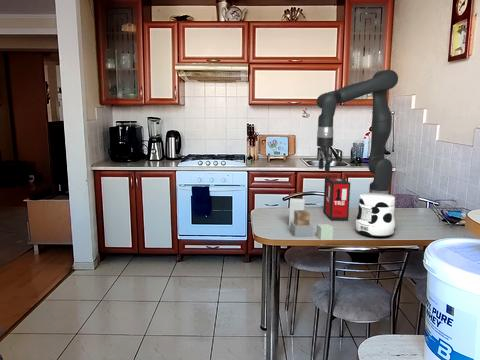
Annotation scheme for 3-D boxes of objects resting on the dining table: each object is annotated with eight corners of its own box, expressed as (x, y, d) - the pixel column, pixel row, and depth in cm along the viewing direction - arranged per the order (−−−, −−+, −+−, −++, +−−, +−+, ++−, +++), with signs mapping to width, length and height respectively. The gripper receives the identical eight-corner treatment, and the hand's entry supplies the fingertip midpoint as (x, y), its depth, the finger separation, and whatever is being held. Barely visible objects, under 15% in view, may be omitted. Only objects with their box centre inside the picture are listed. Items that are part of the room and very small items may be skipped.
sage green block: (328, 235, 180) (328, 224, 179) (332, 239, 174) (333, 227, 173) (316, 236, 179) (317, 224, 178) (320, 240, 173) (321, 228, 172)
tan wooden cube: (305, 221, 183) (305, 210, 183) (309, 224, 178) (309, 213, 177) (293, 222, 183) (294, 210, 182) (297, 225, 177) (297, 213, 176)
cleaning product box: (348, 220, 204) (350, 182, 201) (331, 220, 204) (333, 182, 200) (338, 212, 220) (340, 177, 217) (323, 212, 220) (324, 177, 217)
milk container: (391, 230, 189) (394, 193, 186) (397, 241, 172) (400, 201, 169) (353, 227, 193) (356, 191, 190) (355, 238, 176) (358, 198, 173)
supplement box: (303, 227, 192) (304, 202, 190) (288, 226, 193) (289, 201, 191) (304, 223, 199) (305, 198, 197) (289, 222, 200) (290, 198, 198)
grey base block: (306, 231, 186) (307, 220, 185) (312, 237, 178) (312, 225, 177) (290, 232, 185) (290, 221, 184) (294, 237, 177) (295, 226, 176)
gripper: (338, 137, 181) (337, 172, 184) (327, 135, 195) (326, 167, 198) (322, 137, 180) (321, 172, 183) (312, 135, 194) (311, 168, 197)
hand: (323, 170), depth 191 cm, fingers open, 8 cm apart
